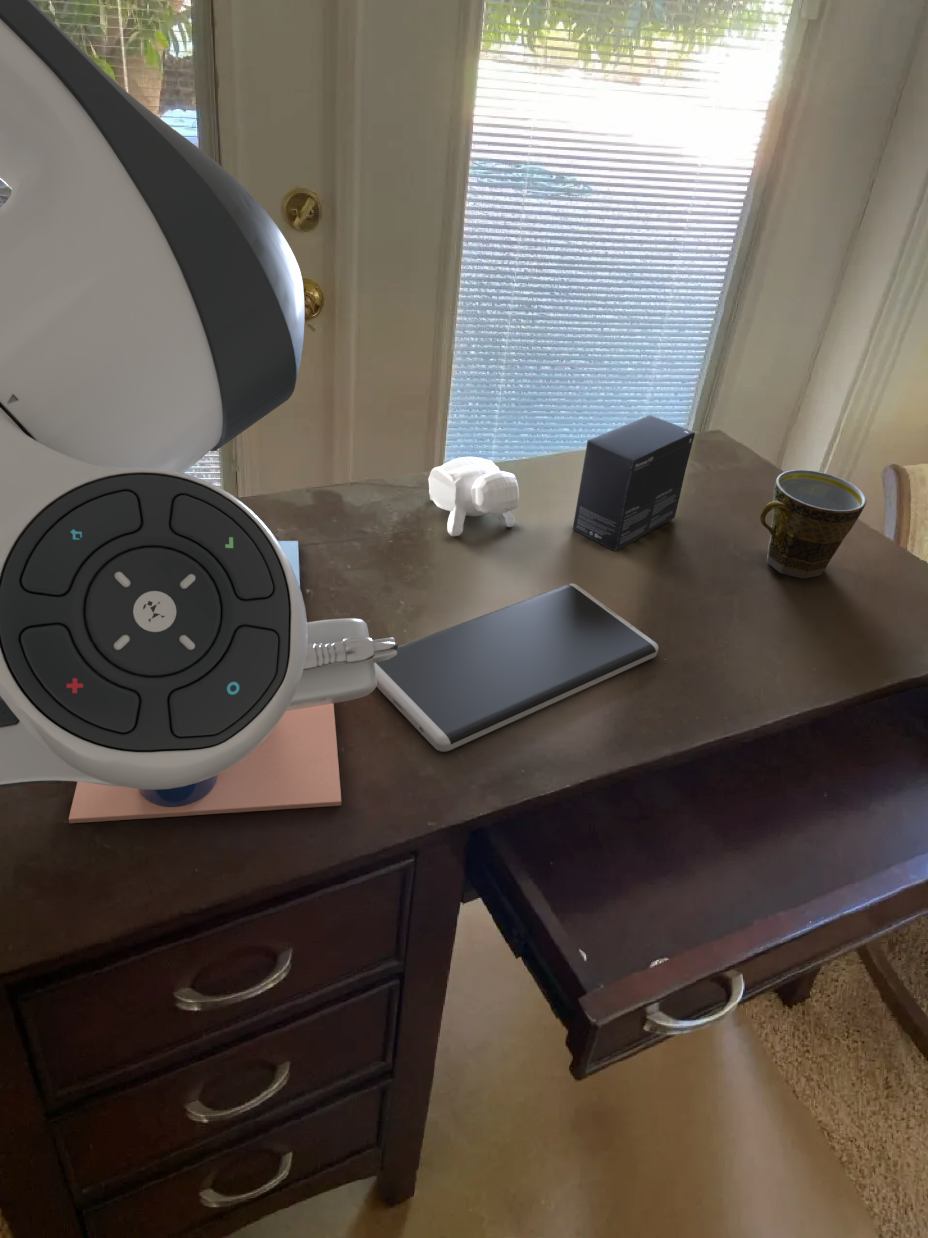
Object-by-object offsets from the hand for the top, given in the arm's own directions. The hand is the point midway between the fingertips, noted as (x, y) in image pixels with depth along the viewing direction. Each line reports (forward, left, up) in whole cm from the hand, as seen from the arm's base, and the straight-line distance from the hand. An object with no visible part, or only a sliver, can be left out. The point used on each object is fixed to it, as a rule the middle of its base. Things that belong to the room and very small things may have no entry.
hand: (169, 702), depth 49 cm
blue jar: (-2, +12, -19) cm, 22 cm away
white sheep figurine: (+29, +53, -19) cm, 63 cm away
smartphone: (+28, +25, -19) cm, 42 cm away
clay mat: (0, +16, -19) cm, 25 cm away
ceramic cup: (+65, +42, -19) cm, 79 cm away
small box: (+48, +52, -19) cm, 73 cm away
